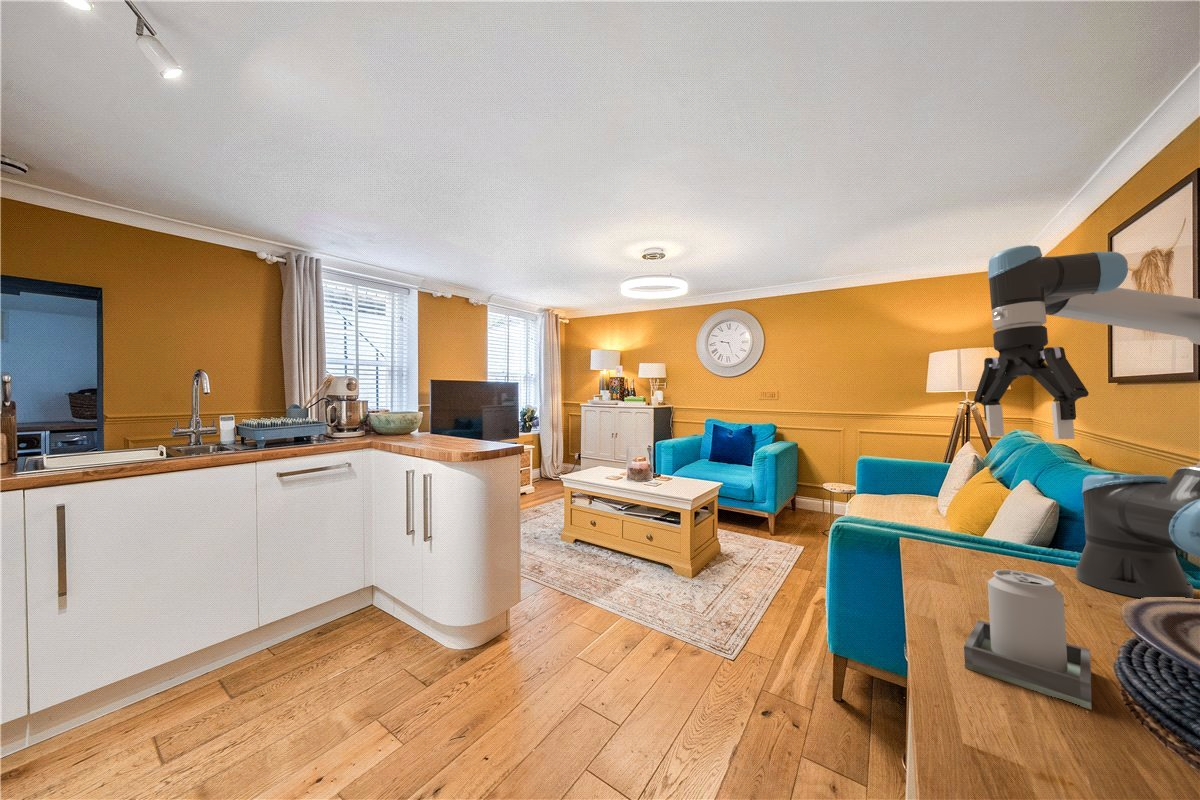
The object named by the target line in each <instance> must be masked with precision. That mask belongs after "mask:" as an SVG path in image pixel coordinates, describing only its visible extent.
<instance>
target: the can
mask: <svg viewBox="0 0 1200 800" xmlns="http://www.w3.org/2000/svg"><path fill="white" fill-rule="evenodd" d="M992 575H994V576H993V577H991V578H990V579H988V580H987V592H988V593H987V596H988V614H989V623H990V637H991V649H992V651H993V652H994V653H997V654H1001V655H1004V656H1007V657H1011V658H1014V659H1017V660H1021V661H1024V662H1027V663H1031V664H1034V665H1037V666H1041V667H1044V668H1047V669H1051V670H1054V671H1058V672H1061V673H1064V672H1066V671H1067V669H1068V664H1067V647H1066V643H1067V635H1066V634H1067V633H1066V619H1065V617H1066V614H1065V601H1064V599H1065V598H1064V597H1065V596H1064V594H1062V592H1061V591H1059V590H1058V589H1057V587H1055V586H1056V585H1057V583H1056V582H1055V580H1053V579H1051V578H1049V577H1046V576H1043V575H1040V574H1037V573H1036V574H1035V573H1032V572H1028V571H1023V570H1021V571H1020V570H1014V569H1013V570H1012V569H996V570H994V571H993V572H992Z"/></svg>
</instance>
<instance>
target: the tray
mask: <svg viewBox="0 0 1200 800" xmlns="http://www.w3.org/2000/svg"><path fill="white" fill-rule="evenodd" d="M1066 647H1067V664H1068V669H1067V671H1066V672H1064V673H1061V672H1058V671H1054V670H1051V669H1047V668H1044V667H1041V666H1037V665H1034V664H1031V663H1027V662H1024V661H1021V660H1017V659H1014V658H1011V657H1007V656H1004V655H1001V654H997V653H994V652H993V651H992V649H991V637H990V622H986V621H982V620H979V619H978V620H977V621H976V624H975V626H974V627H973V628H972V631H971V633H970V634H969V636H968V638H967V640H966V641H965V644H964V645H963V652H964V653H963V654H964V655H963V656H964V668H965V669H967V670H971V671H974V672H976V673H979V674H983V675H985V676H987V677H991V678H994V679H997V680H1001V681H1004V682H1006V683H1009V684H1013V685H1015V686H1019V687H1022V688H1025V689H1028V690H1031V691H1033V690H1034V691H1033V692H1036V691H1037V693H1040V694H1041V695H1046V696H1049V697H1051V696H1052V698H1054V697H1056V698H1055V699H1057V698H1060V699H1065V700H1068V701H1070V702H1072V703H1074V704H1073V705H1075V704H1077V705H1076V706H1078V705H1080V706H1079V707H1081V708H1084V709H1088V710H1091V711H1092V664H1091V650H1090V648H1087V647H1086V648H1085V647H1082V646H1078V645H1075V644H1074V645H1073V644H1070V643H1067V642H1066ZM1060 699H1059V700H1060ZM1072 703H1071V704H1072Z"/></svg>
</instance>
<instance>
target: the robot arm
mask: <svg viewBox="0 0 1200 800" xmlns="http://www.w3.org/2000/svg"><path fill="white" fill-rule="evenodd" d="M1128 264H1129V263H1128V260H1127V258H1126V257H1125V256H1124V255H1123V254H1122V253H1119V252H1116V251H1092V252H1087V253H1078V254H1077V253H1075V254H1069V255H1068V254H1067V255H1066V254H1065V255H1057V256H1043V253H1042V250H1041V248H1040V247H1039V246H1037V245H1029V244H1027V245H1021V246H1020V245H1019V246H1015V247H1011V248H1008V249H1004V250H1000V251H999V252H997V253H995V254H993V255H992V256H991V257H990V259H989V261H988V268H987V269H988V270H987V271H988V273H987V274H988V276H987V280H988V285H989V295H990V296H989V297H990V307H991V319H992V329H993V330H995V331H994V333H993V334H992V336H993V337H992V341H993V349H994V351H997V352H998V353H999V354H998V355H999V356H998V357H986V358H985V359H984V363H983V364H984V365H983V366H984V367H983V371H982V373H981V377H980V379H979V380H980V381H979V383H978V386H977V389H976V392H975V395H974V398H973V401H974V403H977V404H978V403H979V404H981V405H982V406H983V411H984V412H983V413H984V420H985V421H986V432H987V433H986V434H987V438H988V437H989V438H992V437H994V438H995V437H998V438H999V437H1005V427H1004V415H1003V405H1002V404H1001V402H1000V401H1001V399H1002V398H1003V396H1004V395H1005V393H1006V391H1007V390H1008V388H1009V387H1010V386H1011V384H1012V382H1013V381H1014V380H1015V379H1018V378H1019V377H1026V376H1030V377H1033V378H1034V379H1035V381H1037V382H1038V383H1039V384H1040V386H1042V387H1043V388H1044V389H1045V390H1046V391H1047V393H1049V394H1050V396H1052V397H1053V400H1052V402H1051V414H1052V415H1051V416H1052V426H1053V427H1052V428H1053V429H1052V430H1053V437H1054V438H1053V439H1054V440H1071V439H1072V440H1075V437H1076V436H1075V426H1074V421H1076V419H1077V414H1076V413H1077V412H1076V409H1077V408H1076V401H1077V400H1078V399H1081V398H1087V397H1088V396H1089V391H1088V390H1087V389H1088V388H1087V387H1086V386H1085V385H1084V383H1083V382H1082V380H1081V379H1080V377H1079V375H1078V373H1076V371H1075V369H1074V368H1073V367H1072V365H1071V364H1070V362H1069V360H1068V359H1067V356H1066V351H1065V348H1064V347H1062V346H1054V347H1051V346H1050V347H1045V346H1047V345H1048V344H1049V339H1048V335H1049V334H1048V328H1047V327H1046V326H1045V324H1046V323H1047V322H1048V321H1047V316H1053V317H1059V318H1065V319H1071V320H1077V321H1084V322H1089V323H1090V322H1091V323H1095V324H1102V325H1108V326H1114V327H1121V328H1126V329H1135V330H1138V331H1144V332H1145V331H1146V332H1152V333H1157V334H1164V335H1169V336H1176V337H1181V338H1187V340H1188V341H1189V342H1190V343H1192V344H1195V345H1199V346H1200V298H1194V297H1188V296H1187V297H1186V296H1181V295H1173V294H1165V293H1160V292H1159V293H1158V292H1151V291H1144V290H1139V289H1131V288H1123V287H1121V285H1122V284H1123V283H1124V281H1125V280H1126V278H1127V276H1128V273H1129V268H1128V266H1129V265H1128ZM1045 362H1046V363H1045ZM1081 495H1082V499H1083V515H1084V529H1085V530H1084V531H1085V545H1084V548H1083V550H1082V553H1081V555H1080V559H1079V562H1078V563H1077V565H1076V566H1075V579H1077V580H1078V581H1080V582H1082V583H1083V584H1085V585H1089V586H1091V587H1093V588H1097V589H1100V590H1103V591H1108V592H1111V593H1116V594H1118V595H1123V596H1128V597H1133V598H1139V599H1144V598H1143V597H1185V598H1194V599H1195V593H1194V587H1193V585H1192V583H1190V582H1189V580H1188V577H1187V575H1186V573H1185V570H1184V569H1183V567H1182V565H1181V564H1180V563H1181V562H1179V559H1178V558H1177V555H1176V554H1177V553H1176V551H1179V552H1180V551H1181V552H1183V553H1188V554H1190V555H1192V556H1194V557H1197V558H1198V557H1199V558H1200V460H1199V461H1198V463H1197V464H1195V465H1189V466H1181V467H1179V468H1177V469H1176V471H1175V472H1174V473H1173V474H1172V476H1171V477H1168V476H1166V475H1155V474H1089V475H1086V476H1085V477H1084V478H1083V481H1082V489H1081Z"/></svg>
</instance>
